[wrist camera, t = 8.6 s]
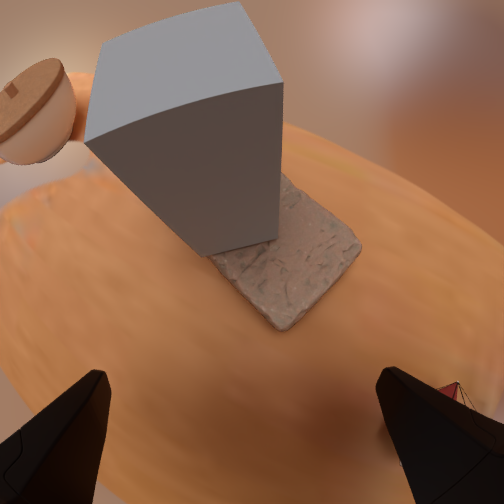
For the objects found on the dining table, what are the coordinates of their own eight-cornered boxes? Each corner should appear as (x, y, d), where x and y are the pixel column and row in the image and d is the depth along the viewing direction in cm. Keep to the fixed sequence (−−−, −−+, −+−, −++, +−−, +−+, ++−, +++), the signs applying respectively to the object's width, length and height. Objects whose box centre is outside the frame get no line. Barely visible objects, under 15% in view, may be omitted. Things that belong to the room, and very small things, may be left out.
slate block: (277, 238, 18) (283, 81, 6) (201, 257, 18) (83, 143, 6) (258, 171, 20) (239, 1, 7) (189, 189, 20) (102, 43, 7)
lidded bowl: (59, 99, 30) (27, 48, 20) (109, 111, 28) (74, 44, 18) (5, 167, 27) (-40, 124, 16) (44, 196, 25) (-17, 142, 15)
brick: (148, 198, 25) (130, 171, 20) (217, 143, 27) (211, 110, 22) (279, 336, 21) (286, 336, 17) (350, 262, 23) (371, 244, 18)
